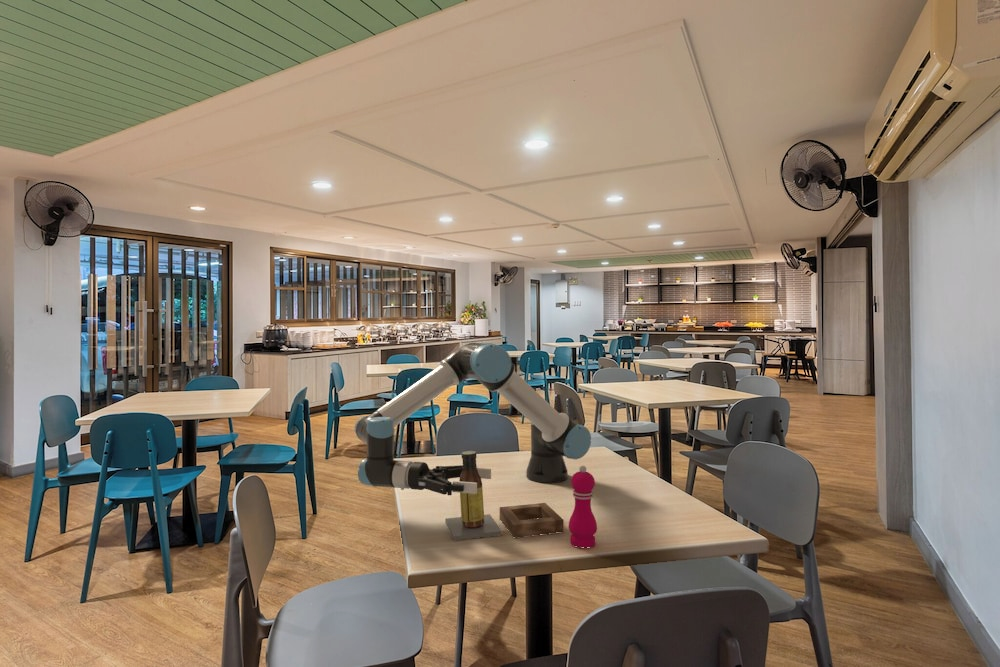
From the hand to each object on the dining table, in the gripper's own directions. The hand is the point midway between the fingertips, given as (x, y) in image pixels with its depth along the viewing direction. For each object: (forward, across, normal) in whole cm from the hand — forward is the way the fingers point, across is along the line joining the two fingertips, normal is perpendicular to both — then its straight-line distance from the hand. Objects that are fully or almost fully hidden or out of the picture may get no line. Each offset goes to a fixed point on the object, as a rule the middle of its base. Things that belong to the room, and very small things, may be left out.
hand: (484, 480), depth 143 cm
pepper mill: (+27, +2, -14) cm, 30 cm away
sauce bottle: (-3, 0, -12) cm, 13 cm away
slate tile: (-3, 0, -14) cm, 14 cm away
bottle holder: (+12, -6, -14) cm, 19 cm away
